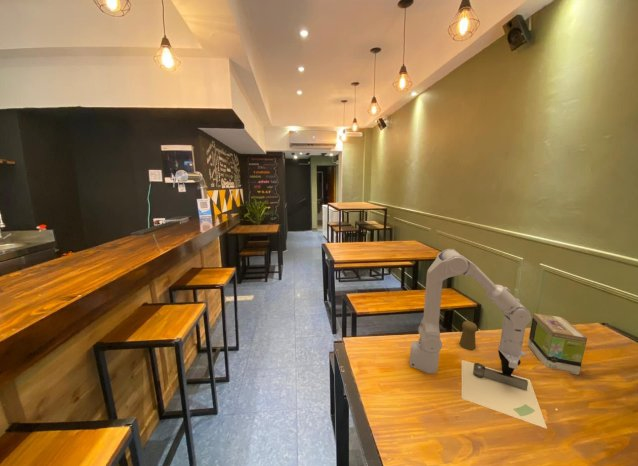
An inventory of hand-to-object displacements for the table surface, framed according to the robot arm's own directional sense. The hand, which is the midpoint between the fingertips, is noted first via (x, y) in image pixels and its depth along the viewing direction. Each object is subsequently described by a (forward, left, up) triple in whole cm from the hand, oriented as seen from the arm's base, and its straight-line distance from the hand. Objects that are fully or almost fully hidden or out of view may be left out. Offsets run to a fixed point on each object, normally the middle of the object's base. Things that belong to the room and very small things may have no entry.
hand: (506, 374), depth 85 cm
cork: (-11, +14, -3) cm, 18 cm away
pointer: (-2, -3, -1) cm, 4 cm away
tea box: (+17, +22, -3) cm, 28 cm away
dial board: (-3, -7, -2) cm, 8 cm away
